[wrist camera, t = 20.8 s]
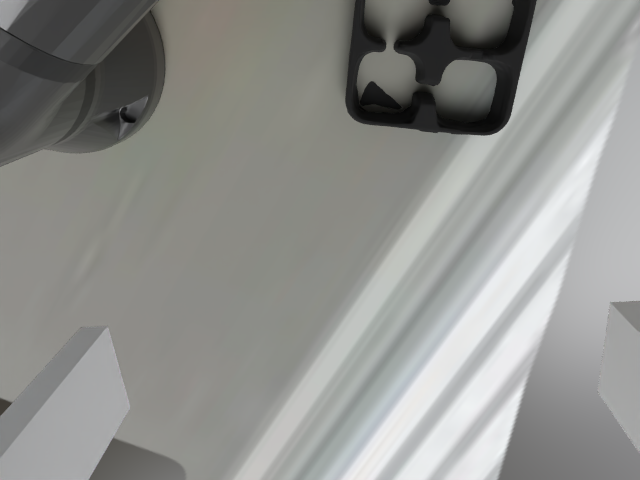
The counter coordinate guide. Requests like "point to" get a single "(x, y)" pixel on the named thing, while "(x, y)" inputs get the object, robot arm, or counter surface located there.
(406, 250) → the counter surface
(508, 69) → the egg carton
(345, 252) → the counter surface
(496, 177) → the counter surface
